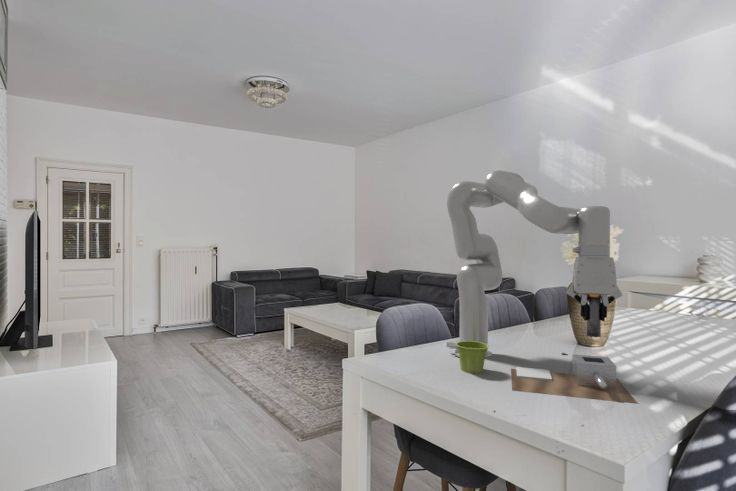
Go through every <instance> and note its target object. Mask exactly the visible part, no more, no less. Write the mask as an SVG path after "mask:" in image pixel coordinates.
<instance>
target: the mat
mask: <svg viewBox="0 0 736 491" xmlns="http://www.w3.org/2000/svg"><path fill="white" fill-rule="evenodd" d="M515 369H516V372H517V378H528V379H538V380H549V381H552V377H551V375H550V372H551V371H550V370H549V369H545V368H544V369H543V368H533V367H532V368H531V367H523V366H522V367H521V366H516V367H515Z"/></svg>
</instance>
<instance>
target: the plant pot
mask: <svg viewBox="0 0 736 491" xmlns="http://www.w3.org/2000/svg"><path fill="white" fill-rule="evenodd" d="M456 342H457V343H456ZM456 342H455V343H456V346H457V347H458V351H459V357H458V358H459V364H460V371H462V372H464V373H470V374H481V373H483V371H484V366H485V359H486V357H485V354H486V352H487V348H488V349H489V344H488V345H487V344H485V343H481V342H475V341H461V342H459V341H456Z"/></svg>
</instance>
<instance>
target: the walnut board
mask: <svg viewBox="0 0 736 491" xmlns="http://www.w3.org/2000/svg"><path fill="white" fill-rule="evenodd" d="M549 372H550V375H551V377H552V381H549V380H538V379H528V378H517V372H516V368H510V373H511V374H510V376H511V390H512V391H514V392H523V393H531V394H539V395H540V394H543V395H550V396H551V395H552V396H553V395H554V396H560V397H569V398H571V397H572V398H580V399H588V400H596V401H597V400H598V401H609V402H617V403H627V404H635V405H636V404H637V405H638V404H639V402H638V401H637V400H636V399H635V398H634V396H632V394H631V393H630V392H629V391H628V390H627V388H626V387H625V386H624V385H623V384H622V382H621V381H620V380H619V379H618V378H617V377H616V389H608V388H605V389H602V388H598V387H588V386H578V385H577V384H576V382H575V380H574V378H573V376H572V373H565V372H555V371H553V372H552V371H549Z"/></svg>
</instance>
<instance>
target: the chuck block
mask: <svg viewBox="0 0 736 491" xmlns="http://www.w3.org/2000/svg"><path fill="white" fill-rule="evenodd" d="M571 370H572V372H571V374H572V376H573V378H574V380H575V382H576V384H577V385H578V386H588V387H598V388H602V389H605V388H608V389H616V378H617V365H616V364H615V363H614V362H613V361H612V360H611V359H610V358H609V357H608V356H598V355H585V354H572V369H571Z"/></svg>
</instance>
